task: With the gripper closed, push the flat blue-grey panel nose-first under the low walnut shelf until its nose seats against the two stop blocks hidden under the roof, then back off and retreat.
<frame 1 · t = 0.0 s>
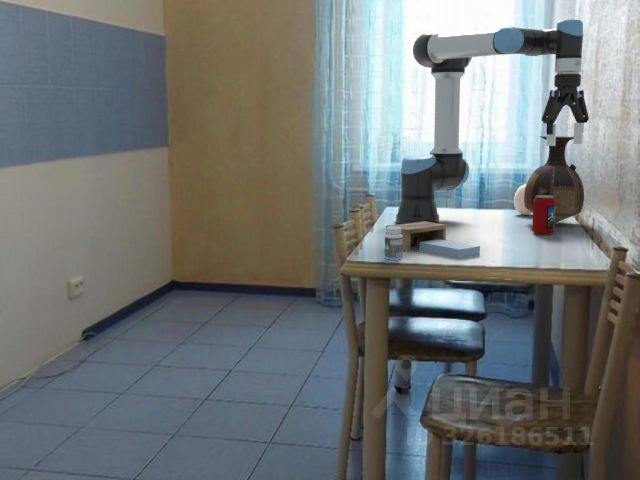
hand: (564, 145, 230), 28 cm above the table, fingers open, 13 cm apart
vase: (553, 224, 259), on the table
pill bottle: (393, 259, 202), on the table
panel: (448, 254, 209), on the table
shelf: (415, 246, 219), on the table
beverage can: (542, 234, 240), on the table
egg: (525, 215, 283), on the table
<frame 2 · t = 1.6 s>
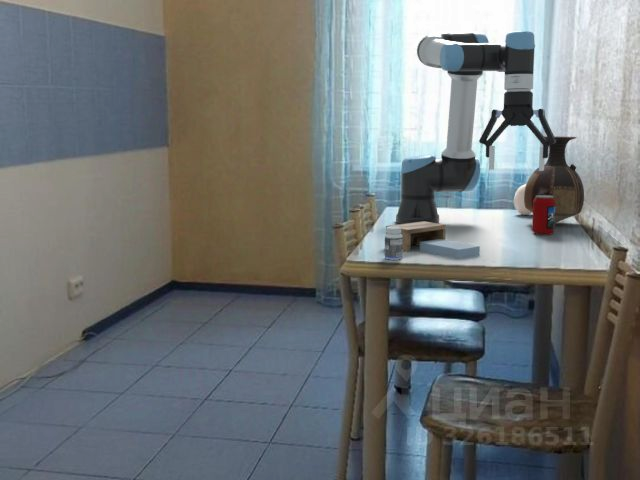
hand: (516, 170, 207), 22 cm above the table, fingers open, 13 cm apart
nothing on the table moved.
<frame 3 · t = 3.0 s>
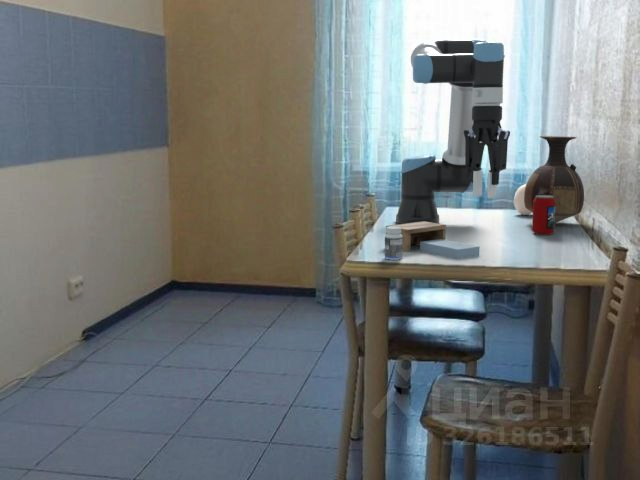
hand: (484, 196, 196), 17 cm above the table, fingers open, 4 cm apart
nothing on the table moved.
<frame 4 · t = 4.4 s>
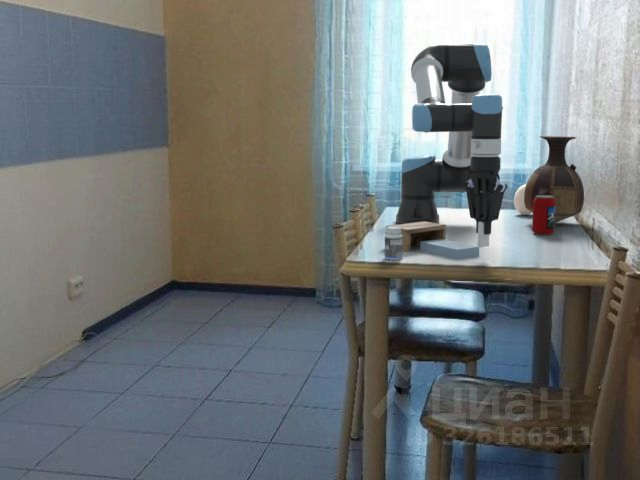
hand: (483, 246, 198), 4 cm above the table, fingers closed
nothing on the table moved.
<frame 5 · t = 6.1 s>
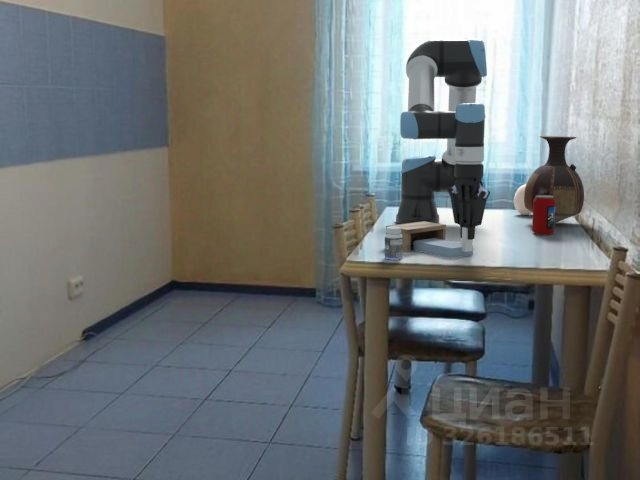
hand: (467, 250, 203), 1 cm above the table, fingers closed
panel: (442, 253, 210), on the table, touching gripper
everything else where it was.
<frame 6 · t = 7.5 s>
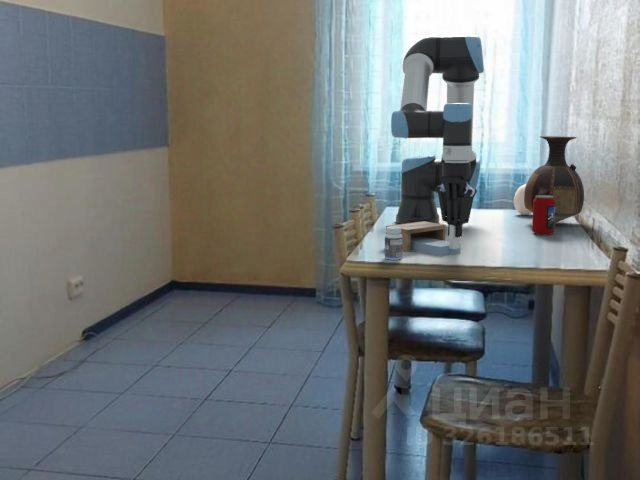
hand: (454, 248, 207), 2 cm above the table, fingers closed
panel: (430, 252, 213), on the table, touching gripper
everything else where it was.
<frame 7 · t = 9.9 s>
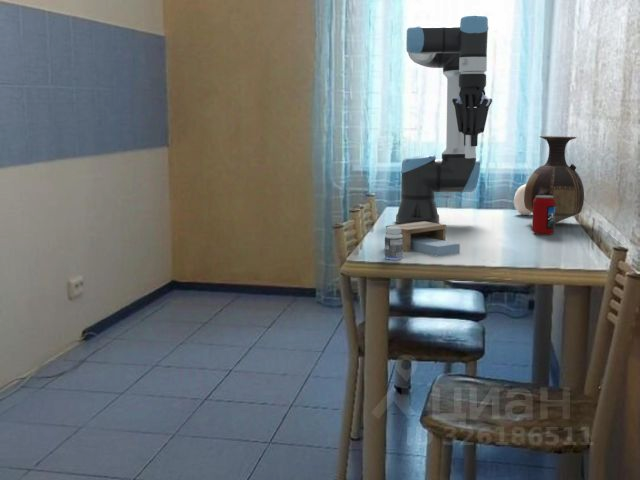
hand: (470, 157, 216), 25 cm above the table, fingers closed
panel: (430, 251, 213), on the table
everything else where it was.
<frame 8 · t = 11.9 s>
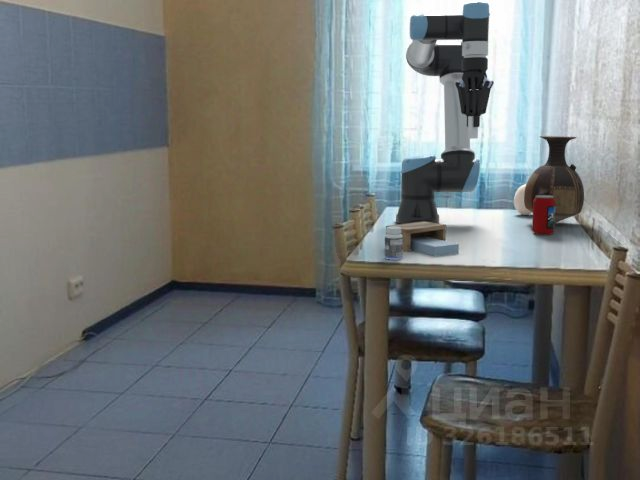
hand: (472, 138, 226), 30 cm above the table, fingers closed
nothing on the table moved.
at the end: panel 0.9 cm from the target spot on the table beside the shelf, on the table; panel tilted 0° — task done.
